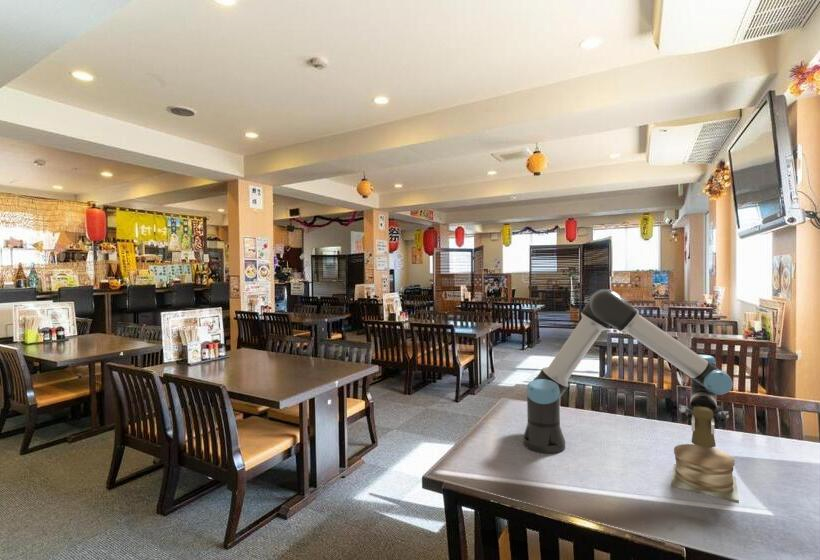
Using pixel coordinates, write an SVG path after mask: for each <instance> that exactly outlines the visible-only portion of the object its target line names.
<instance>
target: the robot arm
mask: <svg viewBox="0 0 820 560" xmlns="http://www.w3.org/2000/svg"><path fill="white" fill-rule="evenodd" d="M580 316H581V319H580V321H579V322H578V324H577V325H576V326H575V328H574V329H573V330H572V333H570V335H569V337H568V338H567V340H566V341H565V342H564V344H563V345H562V347H561V348H560V349H559V351H558V353H556V355H555V357H554V358H553V359H552V361H551V362H550V364H549V365H548V366H545V367H543V368H542V369H541V370H540V372H539V373H538V375H537V376H536V377H534V378H533V380H531V381H529V382H528V383H527V385H526V387H527V388H526V395H527V396H526V401H527V402H526V405H527V413H526V414H527V415H526V417H527V423H526V426H525V430H524V433H523V436H522V443H524V444H523V446H524V445H525V446H524V447H526V448H527V447H528V448H527V449H529V450H531V451H535V452H538V453H543V454H555V453H556V454H557V453H561V452H563V451H564V450H565V449H566V440H565V437H564V434H563V431H562V428H561V413H560V412H561V409H560V407H561V406H560V403H561V397H562V396H563V394H564V393H565V392H566V390H567V389H568V387H569V386H570V385H569V382H568V380H569V379H570V377H571V376H572V374H573V373H574V372H575V370H576V369H577V367H578V366H579V364H580V363H581V361H582V360H583V359H584V357H585V356H586V354H587V353H588V351H589V350H590V348H591V347H592V346H593V345H594V343H595V342H596V341H597V339H598V337H599V336H600V335H601V333H602V332H604V331H608V330H609V329H610V328H611V327H613V328H614V329H616V330H617V331H619V332H620V333H622V332H624V333H627V334H628V335H629V336H631V337H632V338H633V339H634V340H636V341H638V342H639V343H641V344H643V345H644V346H646V348H648V349H650V350H651V351H653V352H654V353H655V354H656V355H658V356H659V357H661V358H663V359H664V360H666V361H667V362H668V363H670V364H671V365H673V366H674V367H675V368H676V369H678V370H680V371H681V372H683V374H685V375H687V376H689V377H690V400H689V405H688V406H686V405H683V404H679V405H678V413H679V414H680V421H682V422H686V421H687V425H688V426H691V432H693V431H695V417H694V416H693V412H692V411H693V408H694V407H698V406H700V407H707V408H709V409H711V410H712V411H713V418H712V419H711V434H714V435H715V430H719V429H720V427H721V428H723V429H726V428H727V421H729V419H730V415H729V414H730V412H729V411H727V410H724V411H722V410H721V411H720V410H719V409H718V405H717V398H718V397H717V395H725V394H727V393H729V392H731V390H732V389H733V386H734V385H733V383H734V382H733V379H732V378H731V377H730V375H729V374H728V373H727V372H725V371H723V370H721V368H718V366H717V363H716V361H717V360H716V358H715V357H714V356H712V355H708V354H698V353H696V352H695V351H694V350H692V349H690V348H689V347H687V346H686V345H685V344H683V343H682V342H680V341H679V340H677V339H676V338H674V337H673V336H671V335H670V334H669V333H667V332H666V331H664V330H663V329H661V328H660V327H658V326H657V325H655V324H654V323H652V322H651V321H649V320H648V319H647V318H645V317H643V316H642V315H640V311H639V309H637V308H636V307H634V306H633V305H632V304H630V303H629V302H628V301H627V300H626V299H625V298H624V297H623V296H622V295H621V294H620V293H619V292H616V291H614V290H612V289H608V288H601V289H598V290H596V291H595V292H593V293H592V294H591V296H590V297H589V300H588V302H587V303H586V305H585V306H584V308H583V309H582V310H581V312H580ZM719 418H720V419H719Z"/></svg>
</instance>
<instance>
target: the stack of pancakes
mask: <svg viewBox="0 0 820 560" xmlns="http://www.w3.org/2000/svg"><path fill="white" fill-rule="evenodd" d="M673 453H674V459H675V463H674V464H673V468H672V474H671V481H670V487H673V488H678V489H682V490H686V491H691V492H695V493H698V494H702V495H707V496H710V497H715V498H719V499H722V500H727V501H731V500H732V502H735V503H739V502H740V501H739V500H740V499H739V494H738V493H739V492H738V485H737V478H736V476H733V471H734V466H735V459H734V457H733V456H732V455H730V454H729V453H727V452H725V451H724V450H723V451H722V450H720V449H717V448H716V447H712V448H708V447H701V446H698V445H695V444H693V443H691V444H690V443H685V444H684V443H683V444H678V445H676V446H674V448H673Z"/></svg>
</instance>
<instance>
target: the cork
mask: <svg viewBox="0 0 820 560" xmlns="http://www.w3.org/2000/svg"><path fill="white" fill-rule="evenodd" d="M692 412H693V416H694V417H695V431H692V434H691V435H692V436H691V441H690V442H691V444H694V445H698V446H701V447H708V448H716V444H717V443H716V439H715V434H711V419H712V418H713V411H712V410H711V409H709V408H707V407H700V406H698V407H694V408H693V411H692Z"/></svg>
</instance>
